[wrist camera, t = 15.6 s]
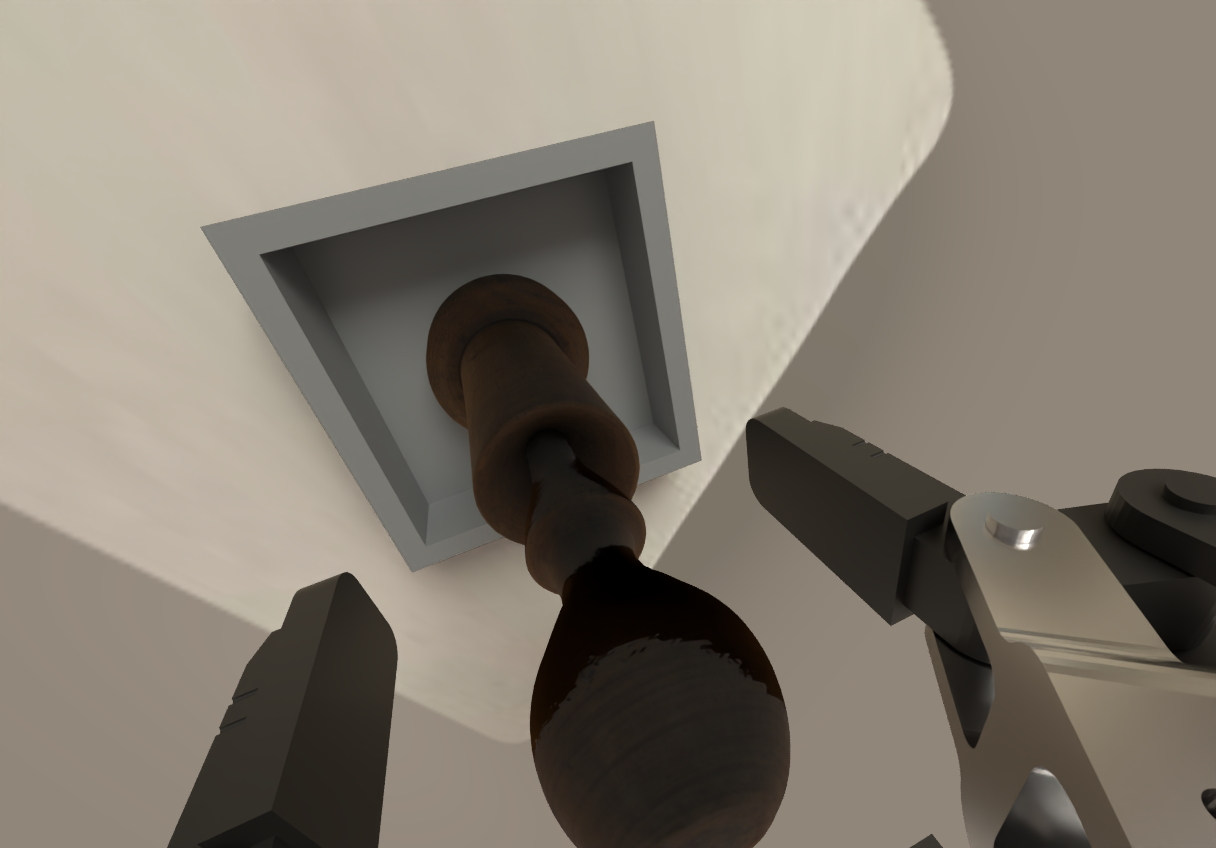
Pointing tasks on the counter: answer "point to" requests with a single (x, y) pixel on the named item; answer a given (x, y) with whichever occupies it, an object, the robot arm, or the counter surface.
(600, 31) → the counter surface
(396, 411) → the tray
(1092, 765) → the robot arm
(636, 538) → the turned wooden knob
